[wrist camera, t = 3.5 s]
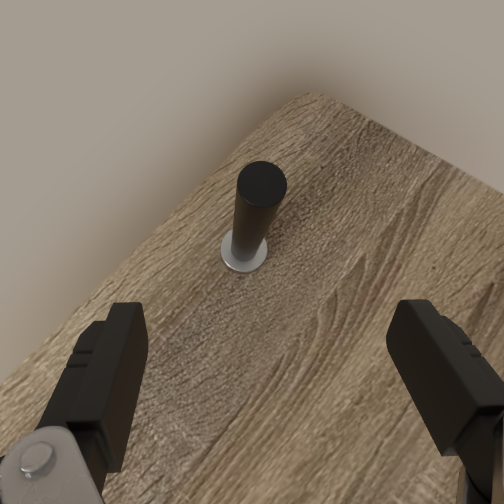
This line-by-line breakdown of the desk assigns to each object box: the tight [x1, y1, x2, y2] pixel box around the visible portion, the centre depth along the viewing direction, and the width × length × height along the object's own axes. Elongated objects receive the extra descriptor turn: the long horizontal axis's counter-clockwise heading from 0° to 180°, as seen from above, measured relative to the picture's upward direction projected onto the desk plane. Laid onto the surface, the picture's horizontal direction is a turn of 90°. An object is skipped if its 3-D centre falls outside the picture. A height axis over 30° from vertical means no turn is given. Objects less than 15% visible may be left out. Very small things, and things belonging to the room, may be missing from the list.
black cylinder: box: [220, 161, 287, 274], centre depth 20 cm, size 4×4×14 cm
